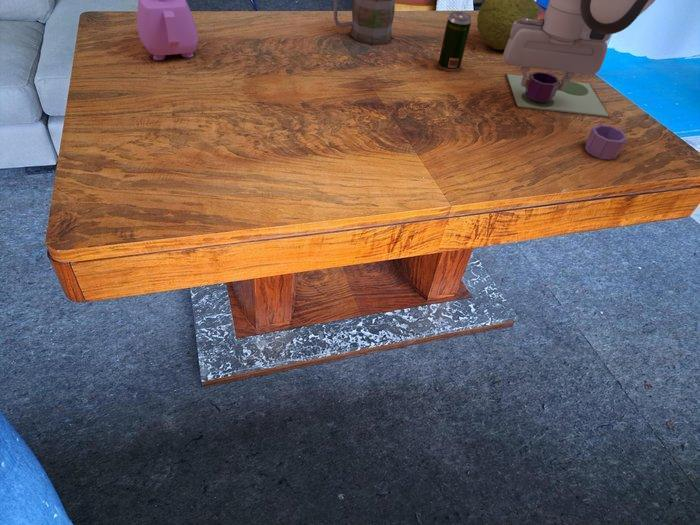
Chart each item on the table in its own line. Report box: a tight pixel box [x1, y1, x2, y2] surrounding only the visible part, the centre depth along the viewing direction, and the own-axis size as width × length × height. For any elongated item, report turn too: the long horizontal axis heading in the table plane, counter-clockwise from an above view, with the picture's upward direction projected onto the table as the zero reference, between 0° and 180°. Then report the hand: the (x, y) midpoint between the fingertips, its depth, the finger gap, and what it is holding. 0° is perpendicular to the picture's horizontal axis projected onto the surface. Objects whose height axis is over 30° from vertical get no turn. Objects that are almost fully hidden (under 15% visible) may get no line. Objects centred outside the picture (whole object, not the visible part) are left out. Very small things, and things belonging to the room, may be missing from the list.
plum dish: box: [525, 71, 560, 102], centre depth 112 cm, size 6×6×4 cm
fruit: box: [476, 0, 540, 51], centre depth 131 cm, size 16×14×15 cm
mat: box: [506, 73, 610, 118], centre depth 117 cm, size 20×16×1 cm
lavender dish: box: [584, 124, 628, 161], centre depth 99 cm, size 6×6×4 cm
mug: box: [333, 0, 396, 45], centre depth 129 cm, size 16×11×12 cm
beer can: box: [438, 10, 472, 73], centre depth 119 cm, size 5×5×12 cm
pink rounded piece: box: [136, 0, 199, 61], centre depth 112 cm, size 20×12×13 cm, turn 24°
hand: (541, 87), depth 112 cm, fingers closed on plum dish, 6 cm apart
